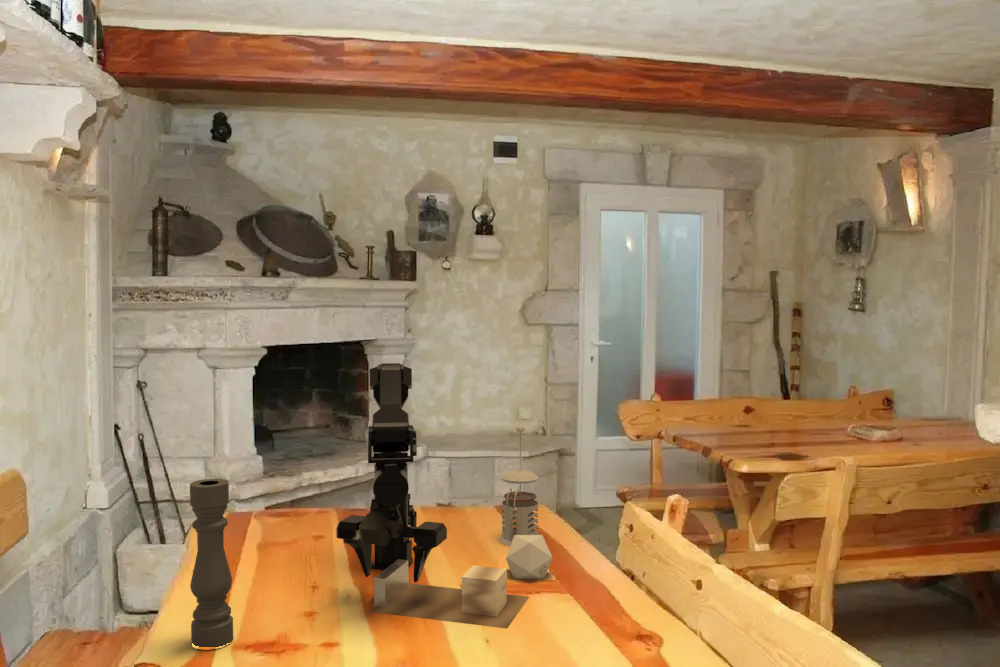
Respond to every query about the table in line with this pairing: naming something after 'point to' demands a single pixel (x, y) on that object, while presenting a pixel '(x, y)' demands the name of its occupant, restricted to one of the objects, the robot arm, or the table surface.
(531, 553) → the die
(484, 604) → the cube
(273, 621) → the table surface
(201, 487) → the candle holder
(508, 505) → the french press
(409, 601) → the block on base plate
